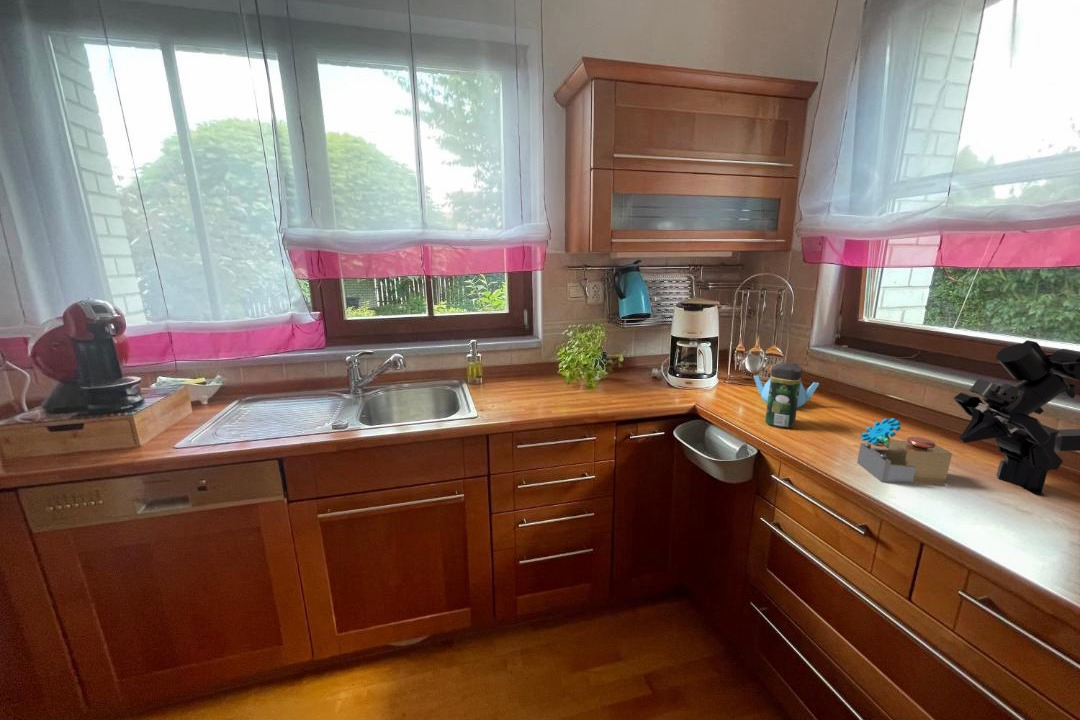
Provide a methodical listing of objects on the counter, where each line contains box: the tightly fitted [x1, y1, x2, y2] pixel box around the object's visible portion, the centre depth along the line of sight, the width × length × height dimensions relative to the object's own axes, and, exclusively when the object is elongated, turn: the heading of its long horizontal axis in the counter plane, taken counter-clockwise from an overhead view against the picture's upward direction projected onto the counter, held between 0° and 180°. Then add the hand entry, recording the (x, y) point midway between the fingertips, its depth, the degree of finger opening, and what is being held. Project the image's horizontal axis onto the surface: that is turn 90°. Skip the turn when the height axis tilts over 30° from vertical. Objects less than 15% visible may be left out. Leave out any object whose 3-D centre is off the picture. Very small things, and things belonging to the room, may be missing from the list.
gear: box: [860, 417, 902, 448], centre depth 121 cm, size 11×6×10 cm
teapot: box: [753, 375, 820, 409], centre depth 156 cm, size 15×15×11 cm
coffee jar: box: [764, 361, 803, 429], centre depth 135 cm, size 10×8×19 cm
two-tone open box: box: [856, 442, 952, 488], centre depth 103 cm, size 14×10×7 cm
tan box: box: [887, 436, 953, 483], centre depth 102 cm, size 9×6×8 cm, turn 83°
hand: (961, 440), depth 100 cm, fingers closed
